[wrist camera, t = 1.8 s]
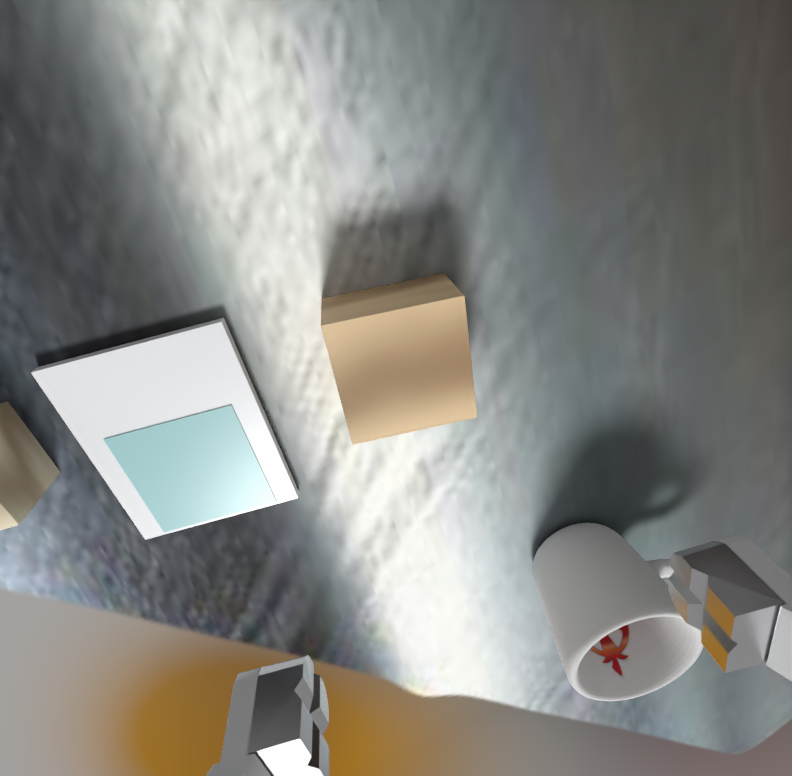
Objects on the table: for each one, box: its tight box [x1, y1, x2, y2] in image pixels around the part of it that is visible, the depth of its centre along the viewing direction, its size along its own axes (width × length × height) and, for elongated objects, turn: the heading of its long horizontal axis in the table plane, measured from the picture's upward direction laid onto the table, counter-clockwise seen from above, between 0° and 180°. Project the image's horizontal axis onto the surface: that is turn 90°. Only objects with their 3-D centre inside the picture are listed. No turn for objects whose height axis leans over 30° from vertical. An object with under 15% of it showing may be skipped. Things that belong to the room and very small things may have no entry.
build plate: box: [31, 318, 299, 540], centre depth 24 cm, size 11×9×1 cm
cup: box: [533, 523, 704, 701], centre depth 30 cm, size 11×8×8 cm
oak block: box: [321, 273, 477, 445], centre depth 22 cm, size 6×6×4 cm
